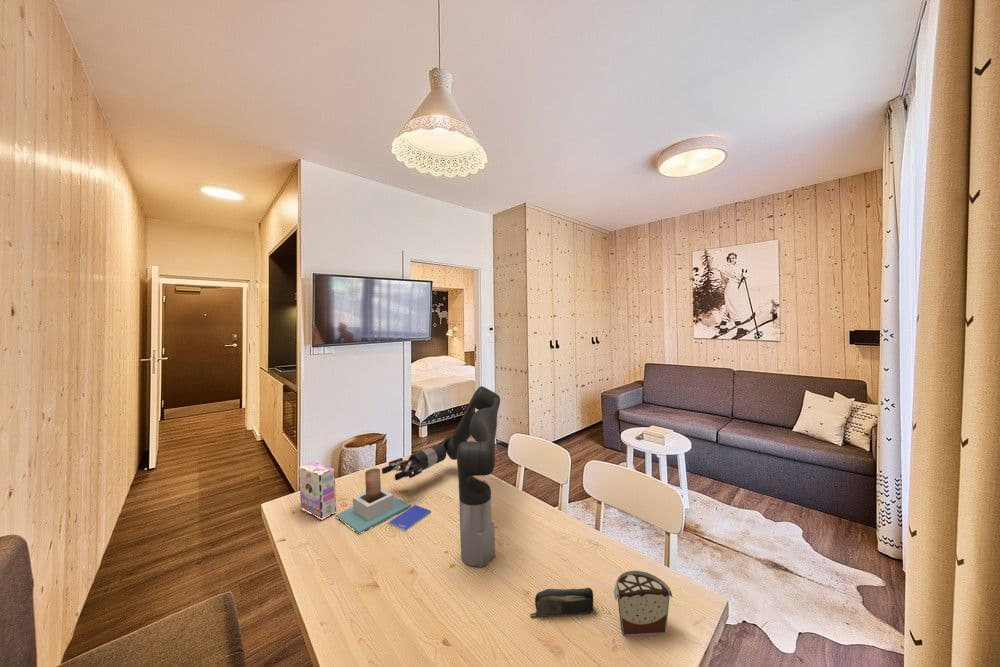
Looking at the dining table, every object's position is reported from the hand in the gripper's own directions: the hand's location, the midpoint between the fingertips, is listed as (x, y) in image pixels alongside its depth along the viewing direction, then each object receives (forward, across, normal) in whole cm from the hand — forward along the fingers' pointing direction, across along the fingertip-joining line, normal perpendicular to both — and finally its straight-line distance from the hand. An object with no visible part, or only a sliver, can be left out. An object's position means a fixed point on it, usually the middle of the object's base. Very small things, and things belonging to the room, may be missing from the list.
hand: (388, 474), depth 127 cm
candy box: (+19, -17, +12) cm, 28 cm away
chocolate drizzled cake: (-5, +89, +12) cm, 90 cm away
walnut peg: (+6, 0, +10) cm, 12 cm away
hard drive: (+1, +14, +12) cm, 19 cm away
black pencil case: (+3, +74, +12) cm, 75 cm away
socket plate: (+7, 0, +12) cm, 13 cm away
